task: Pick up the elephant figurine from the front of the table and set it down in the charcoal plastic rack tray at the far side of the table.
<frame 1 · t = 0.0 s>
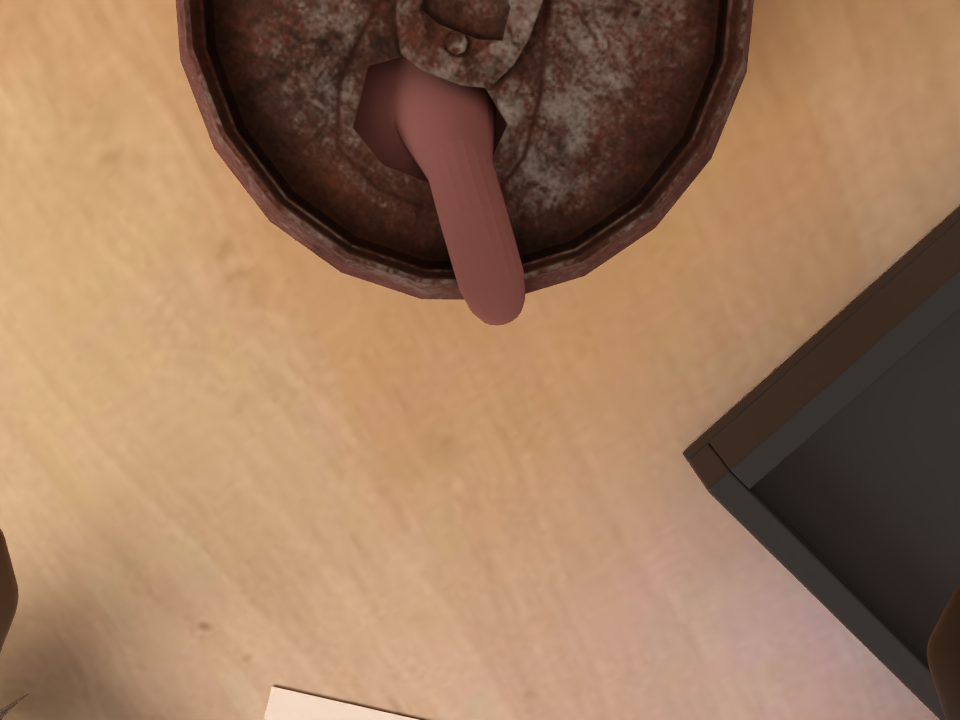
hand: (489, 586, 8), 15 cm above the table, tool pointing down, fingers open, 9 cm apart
can: (462, 82, 22), on the table
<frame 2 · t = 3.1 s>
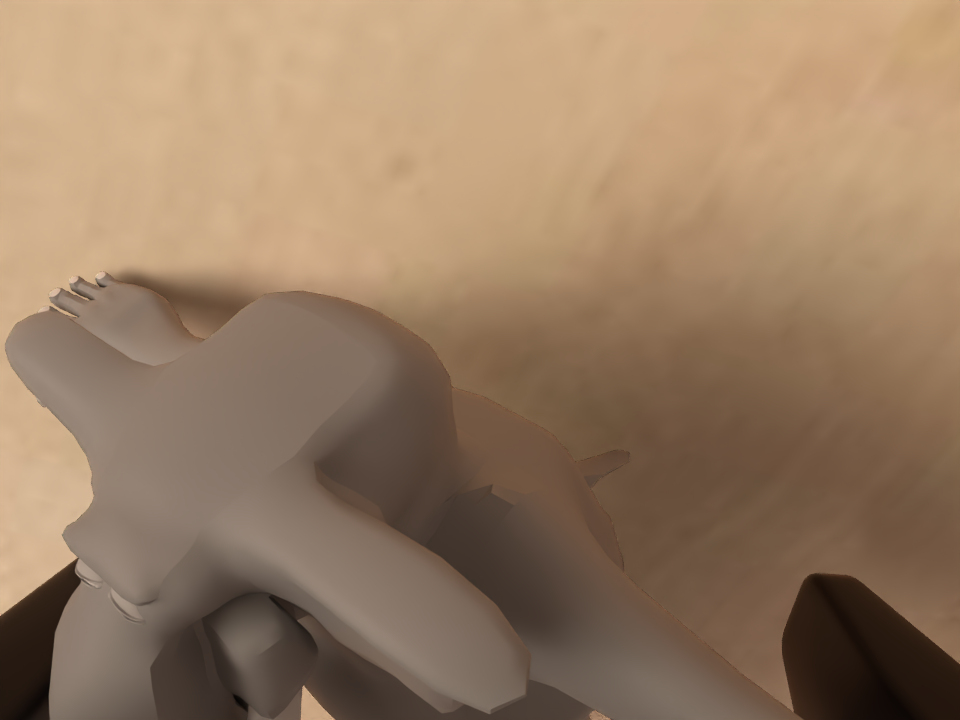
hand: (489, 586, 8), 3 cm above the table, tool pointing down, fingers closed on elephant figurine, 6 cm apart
elephant figurine: (497, 422, 10), on the table, touching gripper
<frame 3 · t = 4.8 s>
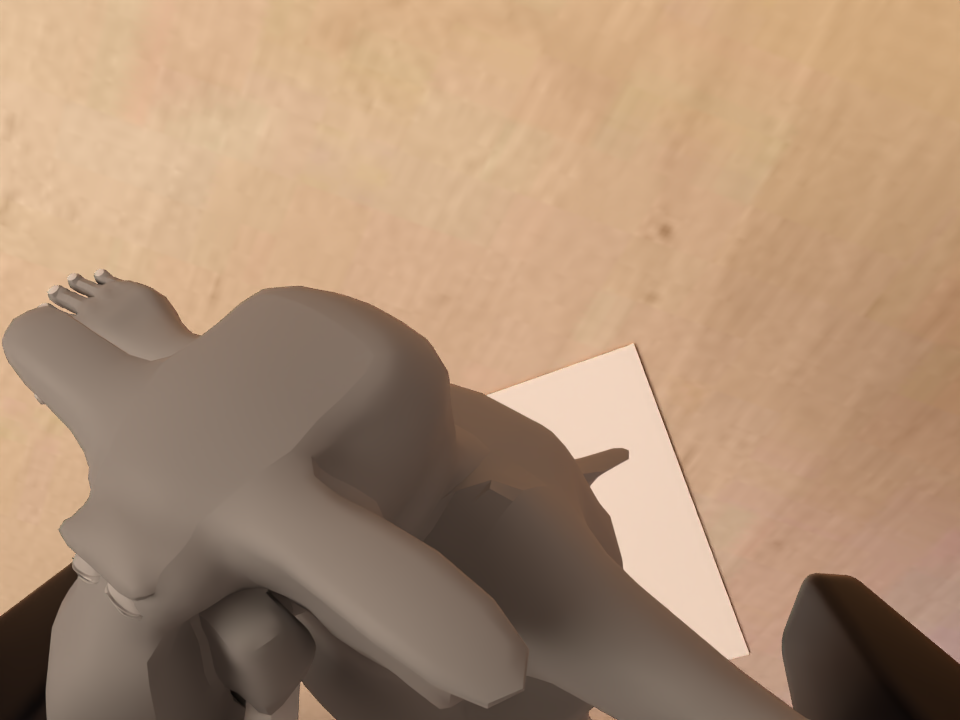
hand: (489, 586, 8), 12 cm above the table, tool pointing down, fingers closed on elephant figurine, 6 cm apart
cream square coaster: (496, 574, 24), on the table
elephant figurine: (496, 420, 10), point 9 cm above the table, touching gripper
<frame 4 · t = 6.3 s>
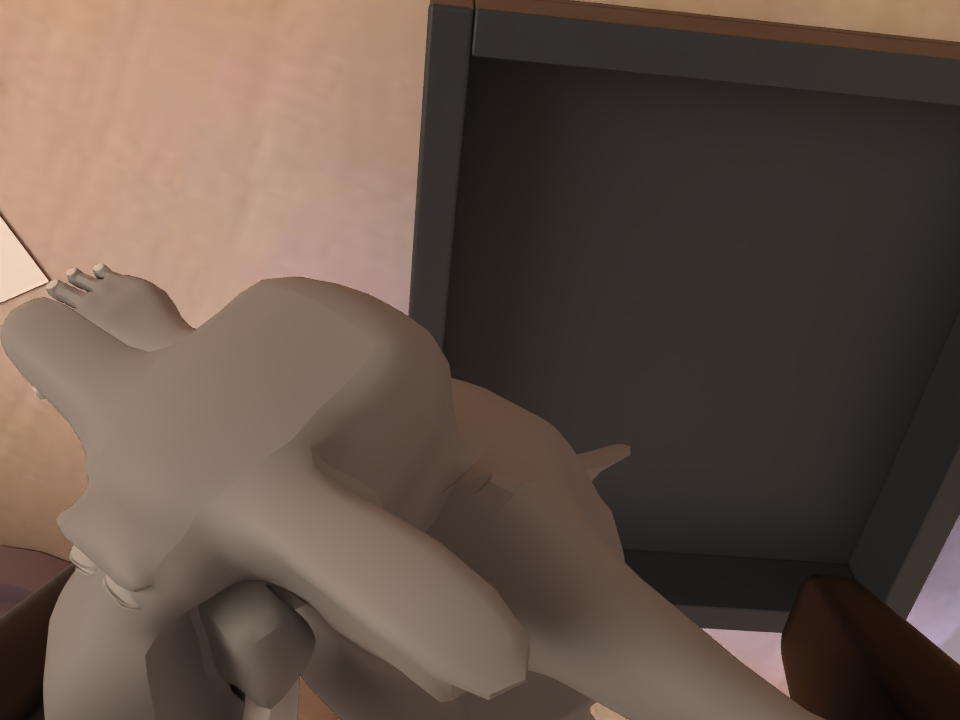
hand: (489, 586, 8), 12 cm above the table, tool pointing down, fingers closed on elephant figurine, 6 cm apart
cat figurine: (26, 617, 25), on the table
rack tray: (687, 336, 21), on the table
elephant figurine: (497, 416, 10), point 10 cm above the table, touching gripper
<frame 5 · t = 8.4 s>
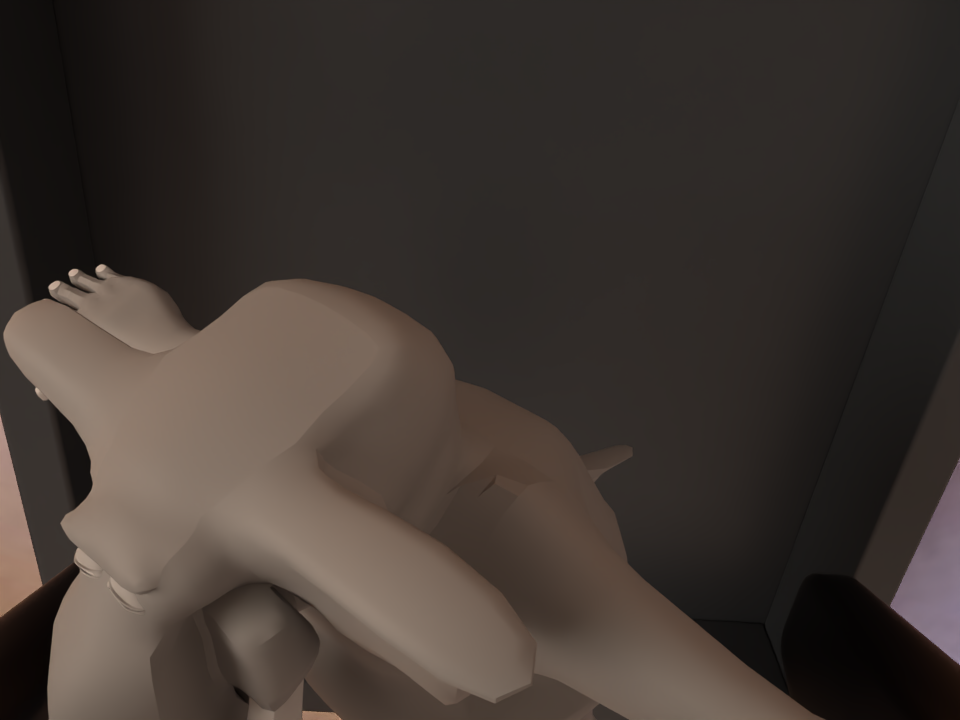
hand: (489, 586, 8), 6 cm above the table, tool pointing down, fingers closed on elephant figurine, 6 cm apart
rack tray: (492, 289, 13), on the table
elephant figurine: (499, 417, 10), point 4 cm above the table, touching gripper
when the fingers open (3 cm above the table, at t = 9.9 s): elephant figurine stays where it is, resting on rack tray.
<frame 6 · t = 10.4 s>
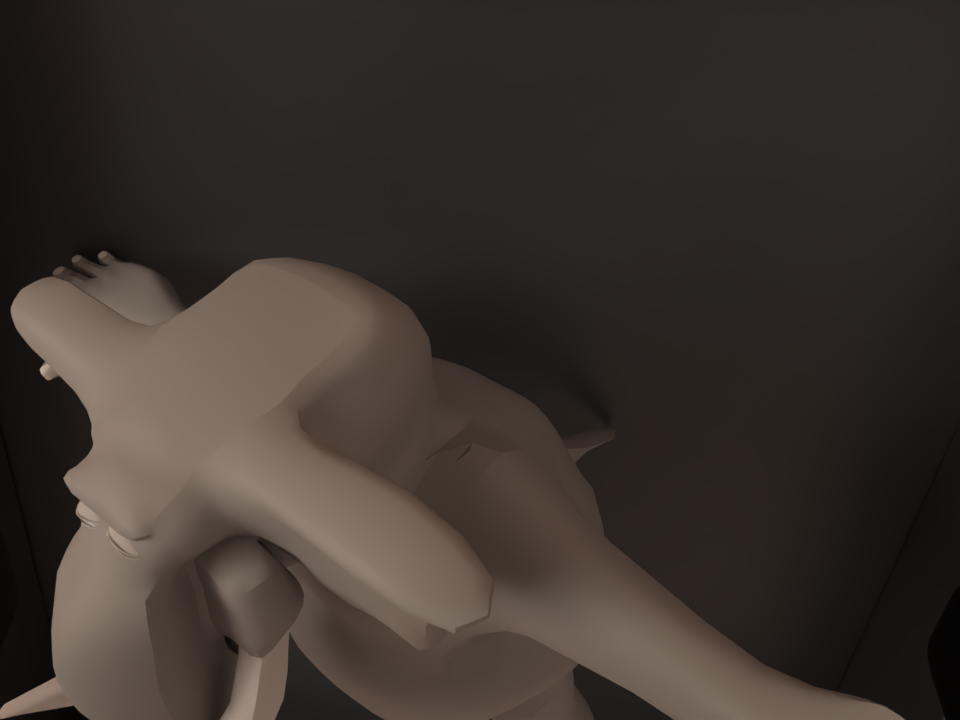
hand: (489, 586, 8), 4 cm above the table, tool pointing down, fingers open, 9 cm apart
rack tray: (482, 387, 11), on the table
elephant figurine: (486, 400, 11), resting on rack tray
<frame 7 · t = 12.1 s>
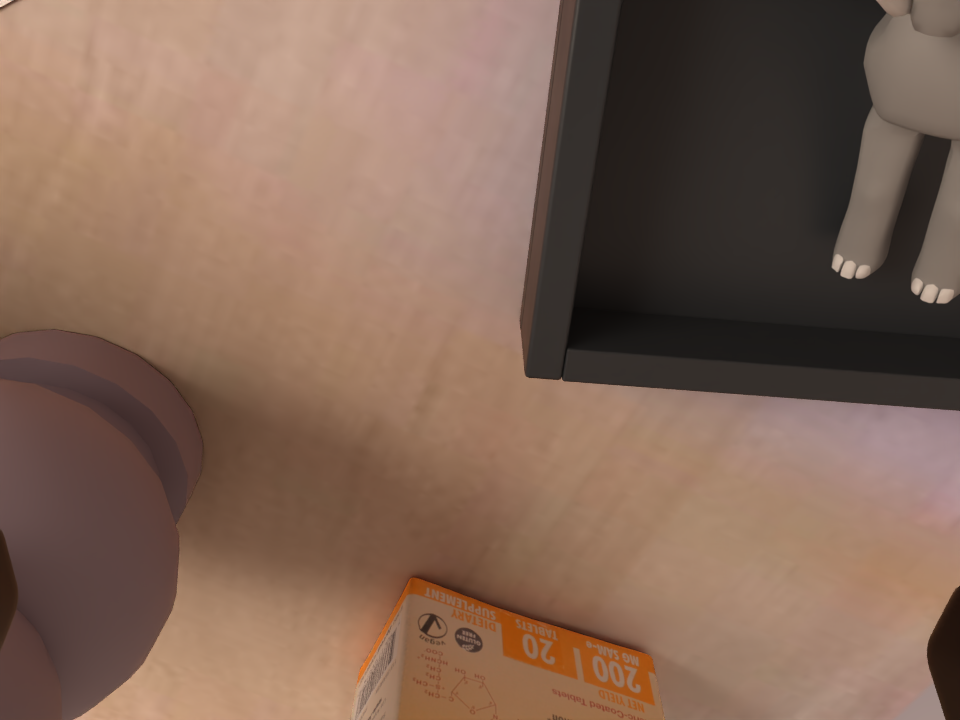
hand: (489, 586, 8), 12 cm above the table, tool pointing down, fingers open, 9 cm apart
cat figurine: (79, 429, 22), on the table
supplement box: (502, 651, 26), on the table
rack tray: (901, 23, 17), on the table
elephant figurine: (914, 23, 16), resting on rack tray
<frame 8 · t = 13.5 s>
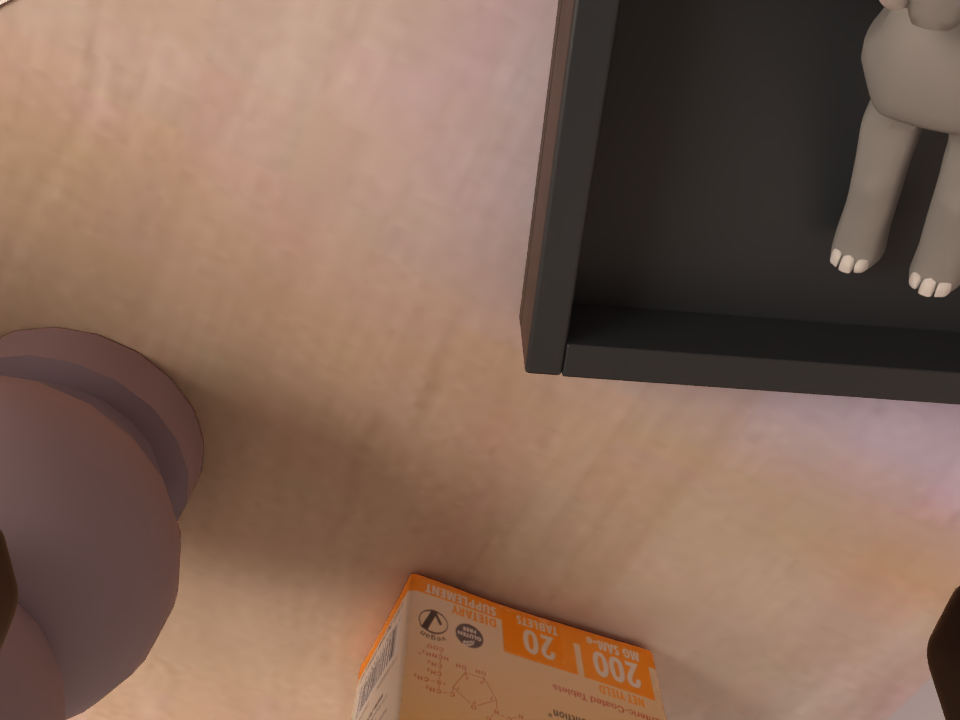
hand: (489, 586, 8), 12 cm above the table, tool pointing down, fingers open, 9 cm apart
cat figurine: (80, 426, 22), on the table
supplement box: (503, 647, 26), on the table
rack tray: (898, 18, 17), on the table
elephant figurine: (911, 18, 16), resting on rack tray
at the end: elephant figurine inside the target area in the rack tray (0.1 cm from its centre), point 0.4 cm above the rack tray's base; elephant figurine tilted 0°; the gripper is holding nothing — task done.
